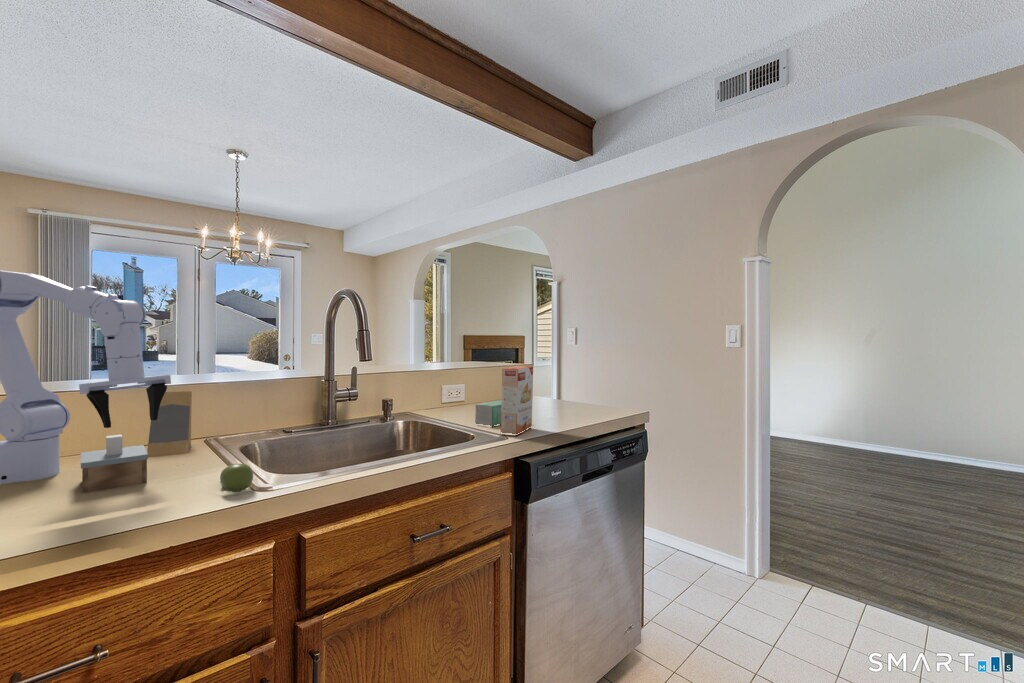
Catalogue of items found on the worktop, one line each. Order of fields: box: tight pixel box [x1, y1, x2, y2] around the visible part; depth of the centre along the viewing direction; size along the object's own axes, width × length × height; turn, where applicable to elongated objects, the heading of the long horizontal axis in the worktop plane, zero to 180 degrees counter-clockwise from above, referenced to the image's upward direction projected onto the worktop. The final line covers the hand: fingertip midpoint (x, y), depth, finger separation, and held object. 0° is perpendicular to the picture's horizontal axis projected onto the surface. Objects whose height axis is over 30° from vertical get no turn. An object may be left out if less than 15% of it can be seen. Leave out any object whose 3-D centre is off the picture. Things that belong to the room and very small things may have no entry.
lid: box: [80, 434, 149, 470], centre depth 95 cm, size 10×10×4 cm
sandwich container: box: [146, 390, 193, 458], centre depth 120 cm, size 9×15×15 cm, turn 31°
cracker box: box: [500, 365, 534, 434], centre depth 150 cm, size 14×6×21 cm, turn 158°
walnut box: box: [81, 459, 148, 494], centre depth 95 cm, size 10×10×6 cm
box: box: [474, 400, 502, 426], centre depth 163 cm, size 7×14×8 cm, turn 147°
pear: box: [219, 463, 254, 493], centre depth 95 cm, size 6×5×10 cm
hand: (131, 423), depth 97 cm, fingers open, 7 cm apart
